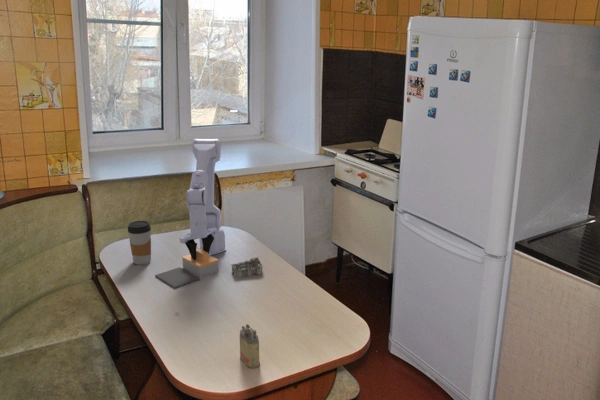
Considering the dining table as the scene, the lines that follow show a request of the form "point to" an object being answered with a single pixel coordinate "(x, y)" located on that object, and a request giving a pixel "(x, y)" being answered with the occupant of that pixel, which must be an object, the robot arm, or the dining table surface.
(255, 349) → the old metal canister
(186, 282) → the mat
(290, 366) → the dining table surface
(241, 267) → the grey rock
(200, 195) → the robot arm
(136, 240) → the coffee cup
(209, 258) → the lid
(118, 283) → the dining table surface
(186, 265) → the parts tub
